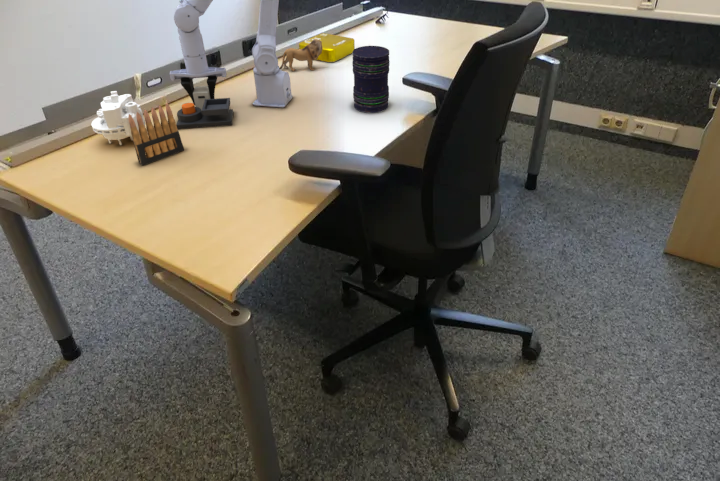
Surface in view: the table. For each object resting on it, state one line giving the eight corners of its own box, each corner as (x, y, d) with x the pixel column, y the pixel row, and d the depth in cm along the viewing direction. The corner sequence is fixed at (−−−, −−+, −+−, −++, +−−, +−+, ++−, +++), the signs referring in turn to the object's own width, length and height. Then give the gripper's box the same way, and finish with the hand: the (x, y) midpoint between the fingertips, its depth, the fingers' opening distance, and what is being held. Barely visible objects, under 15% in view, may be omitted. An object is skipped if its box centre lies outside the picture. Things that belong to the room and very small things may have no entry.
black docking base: (233, 112, 141) (231, 102, 139) (231, 125, 135) (229, 114, 133) (181, 116, 140) (178, 106, 138) (177, 129, 133) (174, 118, 131)
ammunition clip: (180, 147, 125) (168, 100, 118) (184, 150, 124) (172, 102, 117) (138, 162, 119) (123, 114, 112) (142, 165, 118) (126, 116, 111)
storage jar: (372, 116, 138) (372, 60, 129) (346, 106, 143) (344, 52, 134) (396, 104, 143) (397, 50, 134) (369, 96, 149) (369, 43, 140)
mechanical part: (109, 130, 133) (94, 86, 126) (154, 130, 133) (142, 85, 126) (90, 150, 124) (72, 104, 117) (138, 150, 124) (124, 104, 117)
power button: (196, 109, 137) (194, 102, 135) (195, 114, 134) (193, 107, 133) (184, 110, 136) (182, 103, 135) (182, 115, 134) (180, 108, 132)
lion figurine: (322, 64, 171) (320, 36, 166) (324, 69, 167) (323, 41, 162) (278, 68, 169) (275, 40, 163) (279, 73, 165) (276, 45, 159)
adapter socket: (230, 103, 139) (229, 97, 138) (228, 114, 133) (227, 108, 132) (205, 104, 138) (204, 99, 137) (202, 116, 132) (201, 110, 131)
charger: (213, 104, 146) (210, 85, 143) (212, 111, 142) (208, 92, 139) (198, 105, 145) (194, 86, 142) (196, 112, 141) (192, 93, 138)
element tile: (332, 63, 172) (331, 48, 169) (297, 56, 178) (296, 42, 175) (356, 51, 182) (356, 37, 179) (322, 44, 188) (321, 31, 185)
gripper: (223, 47, 138) (231, 96, 147) (168, 50, 137) (179, 99, 145) (221, 55, 133) (230, 105, 141) (163, 59, 131) (176, 109, 140)
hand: (204, 103), depth 143 cm, fingers closed on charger, 4 cm apart
